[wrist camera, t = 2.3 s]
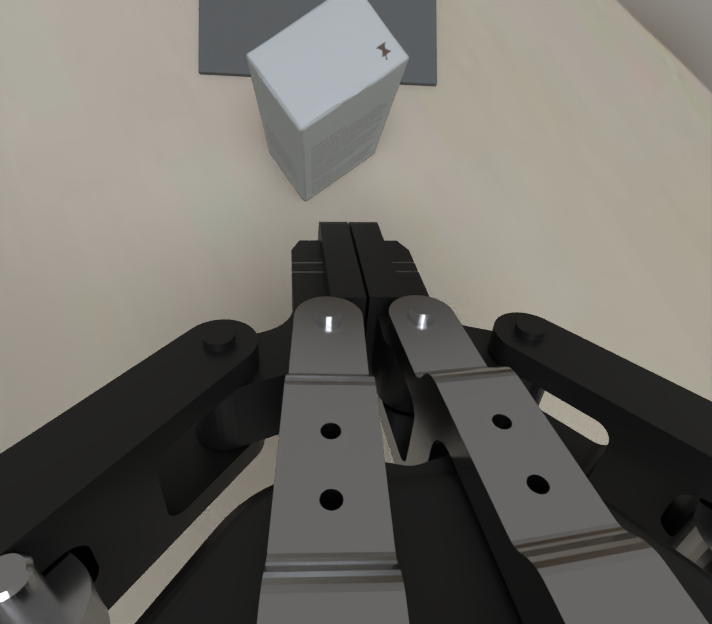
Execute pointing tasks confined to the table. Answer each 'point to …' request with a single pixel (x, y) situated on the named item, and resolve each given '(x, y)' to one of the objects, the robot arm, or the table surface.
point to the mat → (288, 4)
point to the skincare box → (326, 91)
